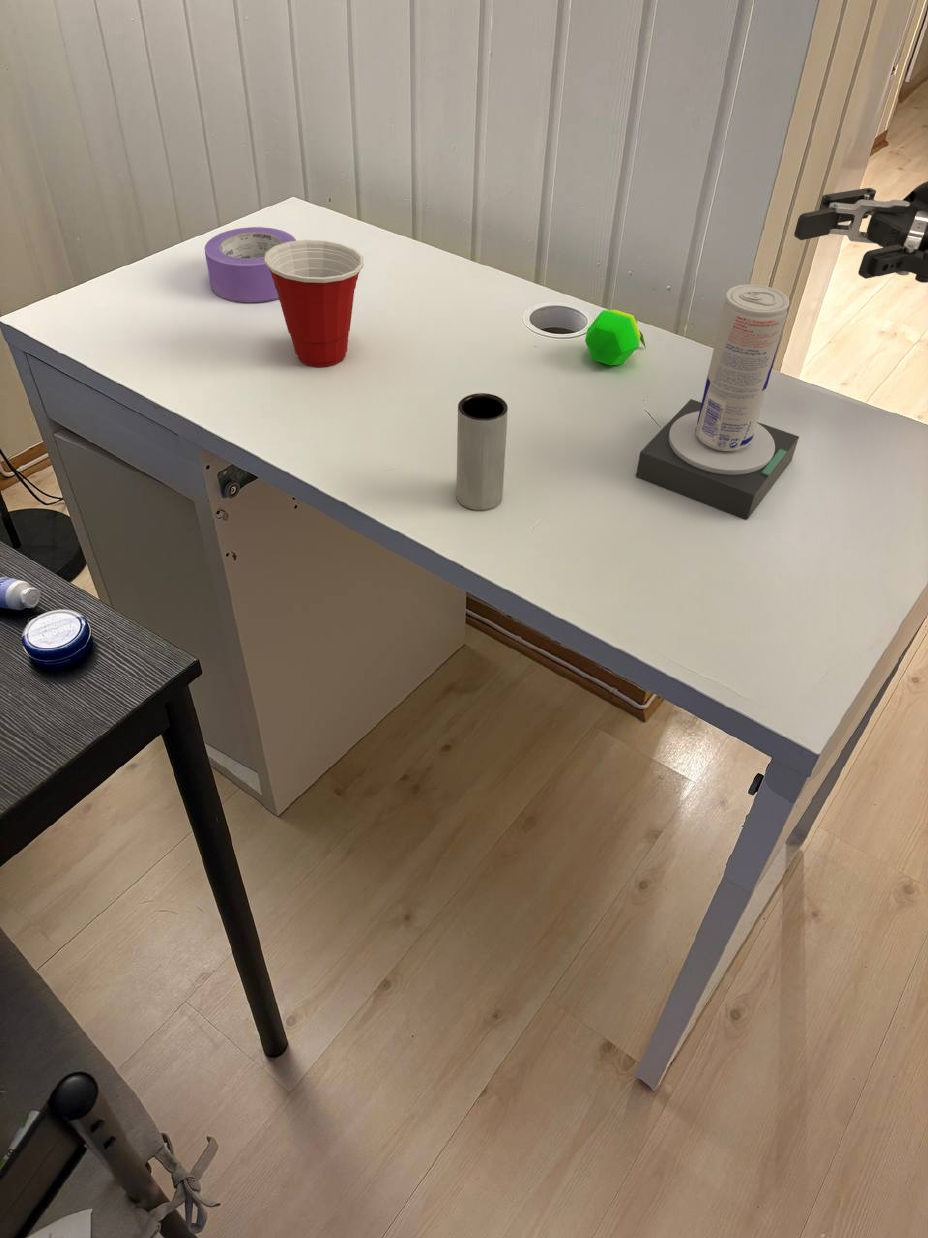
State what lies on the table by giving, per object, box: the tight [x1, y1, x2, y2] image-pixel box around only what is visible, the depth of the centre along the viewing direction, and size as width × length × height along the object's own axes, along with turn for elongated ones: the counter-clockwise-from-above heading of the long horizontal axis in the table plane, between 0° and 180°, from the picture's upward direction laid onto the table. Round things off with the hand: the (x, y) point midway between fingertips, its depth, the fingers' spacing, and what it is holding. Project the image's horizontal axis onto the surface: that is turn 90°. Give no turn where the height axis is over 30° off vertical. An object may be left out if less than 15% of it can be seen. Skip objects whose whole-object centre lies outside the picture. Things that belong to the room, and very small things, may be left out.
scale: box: [635, 398, 800, 521], centre depth 96 cm, size 12×12×4 cm
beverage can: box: [695, 283, 790, 451], centre depth 90 cm, size 6×6×15 cm
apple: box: [584, 309, 647, 366], centre depth 111 cm, size 7×6×9 cm
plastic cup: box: [264, 239, 365, 368], centre depth 108 cm, size 11×11×12 cm
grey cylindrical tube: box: [455, 392, 509, 511], centre depth 90 cm, size 4×4×10 cm
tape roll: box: [204, 226, 297, 303], centre depth 123 cm, size 12×12×5 cm
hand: (830, 246), depth 85 cm, fingers open, 8 cm apart
